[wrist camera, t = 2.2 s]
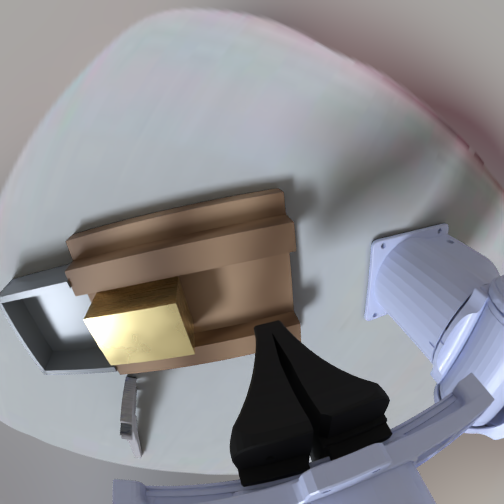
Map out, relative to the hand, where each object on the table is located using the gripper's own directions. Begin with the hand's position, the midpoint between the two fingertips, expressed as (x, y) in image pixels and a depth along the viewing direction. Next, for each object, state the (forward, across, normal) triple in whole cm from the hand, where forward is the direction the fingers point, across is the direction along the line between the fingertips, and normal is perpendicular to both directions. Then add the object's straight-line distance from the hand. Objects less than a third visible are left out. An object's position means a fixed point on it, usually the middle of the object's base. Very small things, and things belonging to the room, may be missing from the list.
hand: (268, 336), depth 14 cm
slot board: (+6, +4, 0) cm, 7 cm away
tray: (+6, +15, 0) cm, 16 cm away
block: (+5, +7, 0) cm, 9 cm away
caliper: (+7, +16, +17) cm, 24 cm away
